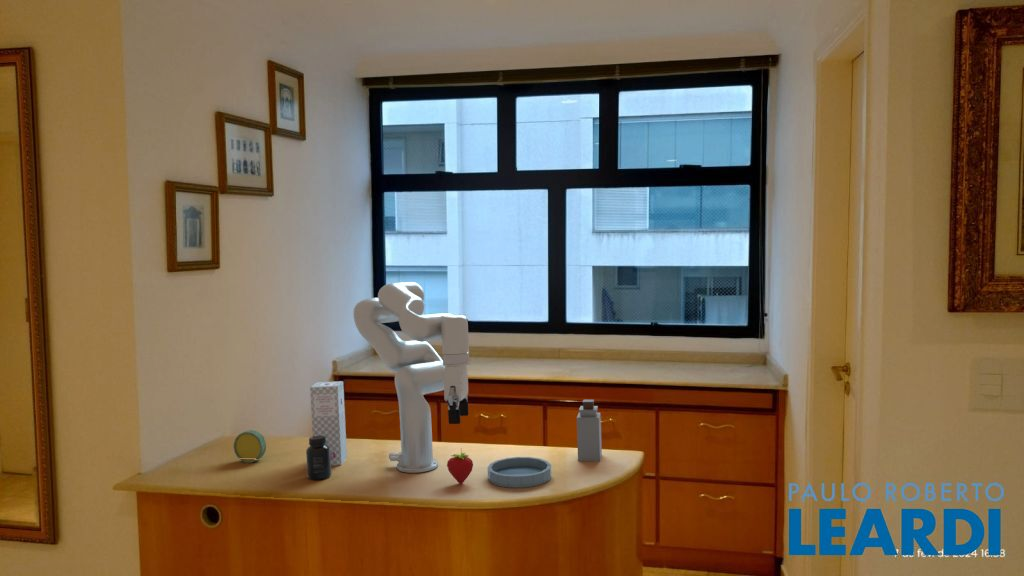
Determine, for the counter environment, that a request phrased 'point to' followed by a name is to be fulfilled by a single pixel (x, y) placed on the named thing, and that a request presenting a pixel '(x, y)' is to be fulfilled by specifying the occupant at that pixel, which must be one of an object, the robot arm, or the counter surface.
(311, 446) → the supplement bottle
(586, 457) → the perfume bottle
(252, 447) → the decorative artifact
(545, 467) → the slate dish
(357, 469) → the counter surface
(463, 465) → the strawberry
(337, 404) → the box
